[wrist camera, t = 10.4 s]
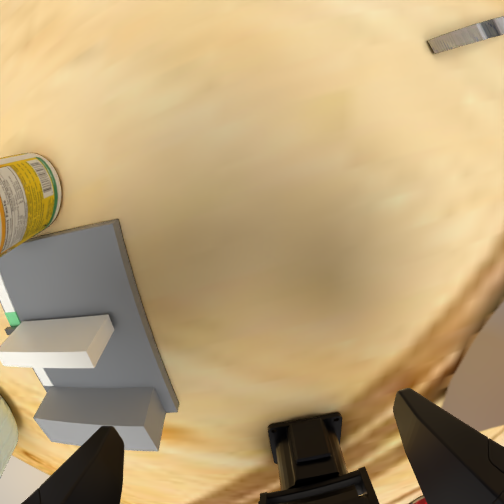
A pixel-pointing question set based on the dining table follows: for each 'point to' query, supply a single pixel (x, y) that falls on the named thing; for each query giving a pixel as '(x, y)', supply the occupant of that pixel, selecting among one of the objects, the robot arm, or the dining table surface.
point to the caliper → (468, 35)
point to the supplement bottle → (26, 198)
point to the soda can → (420, 501)
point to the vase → (6, 434)
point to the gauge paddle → (57, 342)
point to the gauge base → (117, 349)
